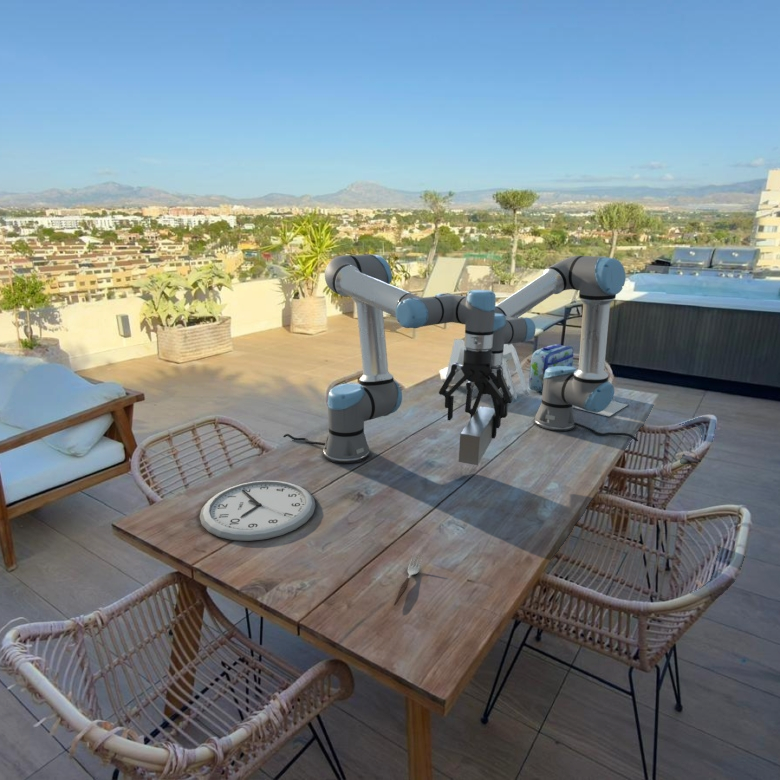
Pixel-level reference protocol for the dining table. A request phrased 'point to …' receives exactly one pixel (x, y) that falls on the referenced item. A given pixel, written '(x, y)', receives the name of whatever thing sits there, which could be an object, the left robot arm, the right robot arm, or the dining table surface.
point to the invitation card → (609, 408)
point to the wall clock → (257, 510)
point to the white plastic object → (508, 354)
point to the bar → (476, 436)
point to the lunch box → (548, 363)
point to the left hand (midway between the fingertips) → (473, 422)
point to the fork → (412, 571)
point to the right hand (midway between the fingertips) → (484, 435)
